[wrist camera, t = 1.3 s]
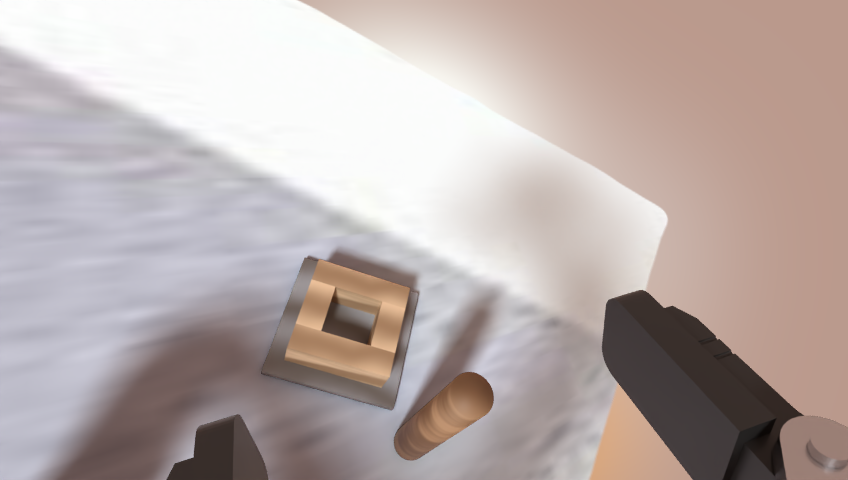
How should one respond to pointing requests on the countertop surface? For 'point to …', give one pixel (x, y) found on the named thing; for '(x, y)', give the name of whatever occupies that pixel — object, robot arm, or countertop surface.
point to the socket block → (343, 334)
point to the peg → (445, 415)
